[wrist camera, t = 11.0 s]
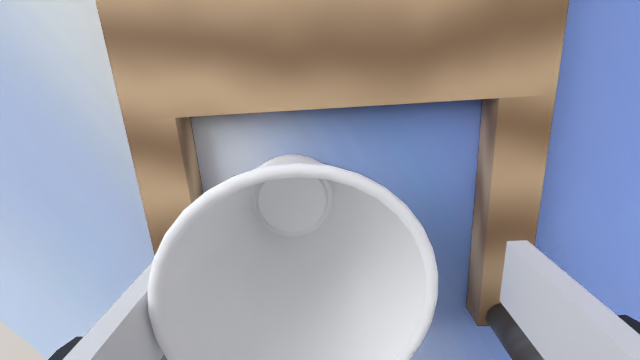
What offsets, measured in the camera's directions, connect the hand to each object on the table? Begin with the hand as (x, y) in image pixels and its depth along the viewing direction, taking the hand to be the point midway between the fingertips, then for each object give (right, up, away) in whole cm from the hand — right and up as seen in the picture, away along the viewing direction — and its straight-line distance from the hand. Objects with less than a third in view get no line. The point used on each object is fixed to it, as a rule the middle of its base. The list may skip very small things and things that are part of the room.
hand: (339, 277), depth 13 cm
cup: (-3, +3, +9) cm, 9 cm away
